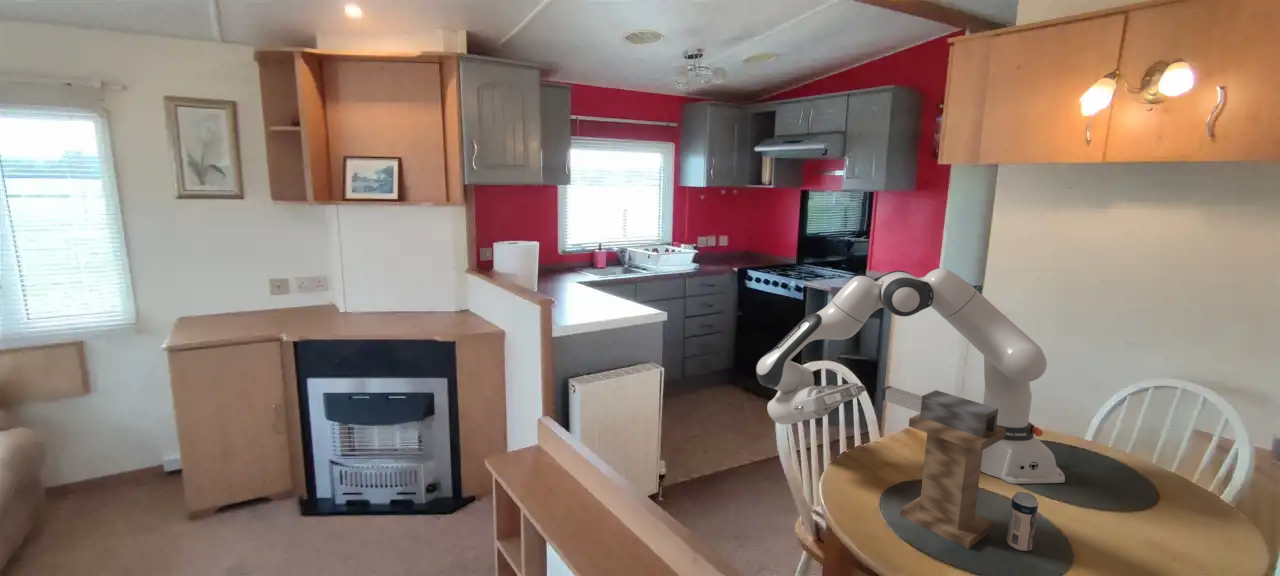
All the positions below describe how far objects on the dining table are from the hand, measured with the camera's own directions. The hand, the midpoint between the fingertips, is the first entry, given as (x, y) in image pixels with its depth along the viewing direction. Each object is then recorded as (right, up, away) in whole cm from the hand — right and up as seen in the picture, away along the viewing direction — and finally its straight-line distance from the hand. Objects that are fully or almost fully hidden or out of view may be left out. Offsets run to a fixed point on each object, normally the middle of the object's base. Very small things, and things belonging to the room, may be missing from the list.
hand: (853, 391), depth 158 cm
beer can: (+28, -30, -25) cm, 48 cm away
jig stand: (+16, -28, -17) cm, 36 cm away
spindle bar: (+12, -2, -16) cm, 20 cm away
